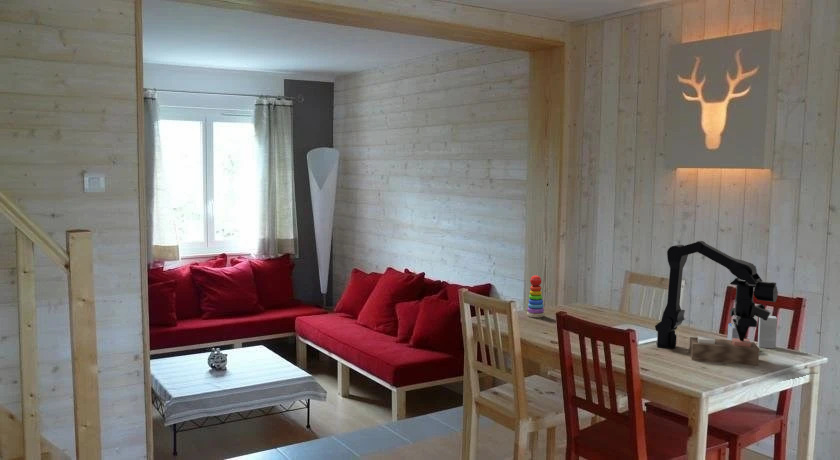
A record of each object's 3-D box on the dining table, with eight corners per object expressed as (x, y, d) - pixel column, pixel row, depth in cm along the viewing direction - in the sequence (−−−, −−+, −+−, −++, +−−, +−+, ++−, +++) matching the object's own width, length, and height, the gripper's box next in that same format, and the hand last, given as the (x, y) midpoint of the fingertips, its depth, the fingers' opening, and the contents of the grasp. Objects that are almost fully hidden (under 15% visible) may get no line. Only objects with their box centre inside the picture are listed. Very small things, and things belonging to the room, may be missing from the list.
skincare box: (774, 346, 276) (776, 316, 275) (775, 348, 272) (777, 318, 271) (757, 344, 278) (758, 314, 277) (758, 347, 274) (760, 317, 273)
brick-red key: (734, 352, 254) (734, 341, 253) (731, 348, 259) (732, 338, 258) (750, 354, 252) (751, 343, 252) (747, 350, 257) (748, 339, 257)
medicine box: (743, 350, 270) (745, 328, 269) (731, 349, 270) (732, 327, 270) (738, 345, 277) (740, 323, 276) (726, 344, 278) (727, 322, 277)
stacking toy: (543, 314, 326) (544, 274, 324) (545, 318, 318) (546, 277, 317) (526, 313, 327) (527, 273, 325) (527, 317, 319) (528, 276, 317)
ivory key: (698, 349, 257) (699, 339, 256) (696, 345, 262) (697, 335, 262) (714, 351, 255) (715, 340, 255) (712, 347, 261) (713, 336, 260)
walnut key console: (691, 359, 256) (692, 343, 255) (689, 352, 265) (690, 337, 265) (758, 365, 250) (759, 349, 249) (752, 357, 259) (753, 342, 259)
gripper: (774, 304, 242) (771, 349, 244) (763, 294, 260) (760, 336, 262) (739, 302, 245) (736, 346, 247) (731, 292, 263) (728, 333, 265)
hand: (741, 340), depth 255 cm, fingers closed, pressing on brick-red key
